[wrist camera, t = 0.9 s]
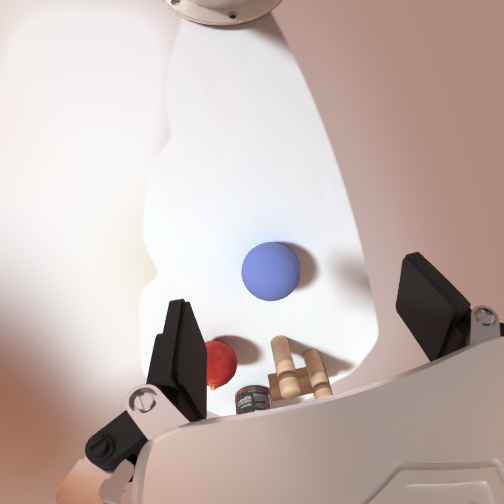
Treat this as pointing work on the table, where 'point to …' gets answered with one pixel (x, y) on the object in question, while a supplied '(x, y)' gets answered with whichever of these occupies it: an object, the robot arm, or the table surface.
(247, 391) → the supplement bottle
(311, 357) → the side pin
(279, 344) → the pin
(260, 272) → the ball
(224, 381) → the onion
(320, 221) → the table surface
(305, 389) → the rail
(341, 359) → the table surface
